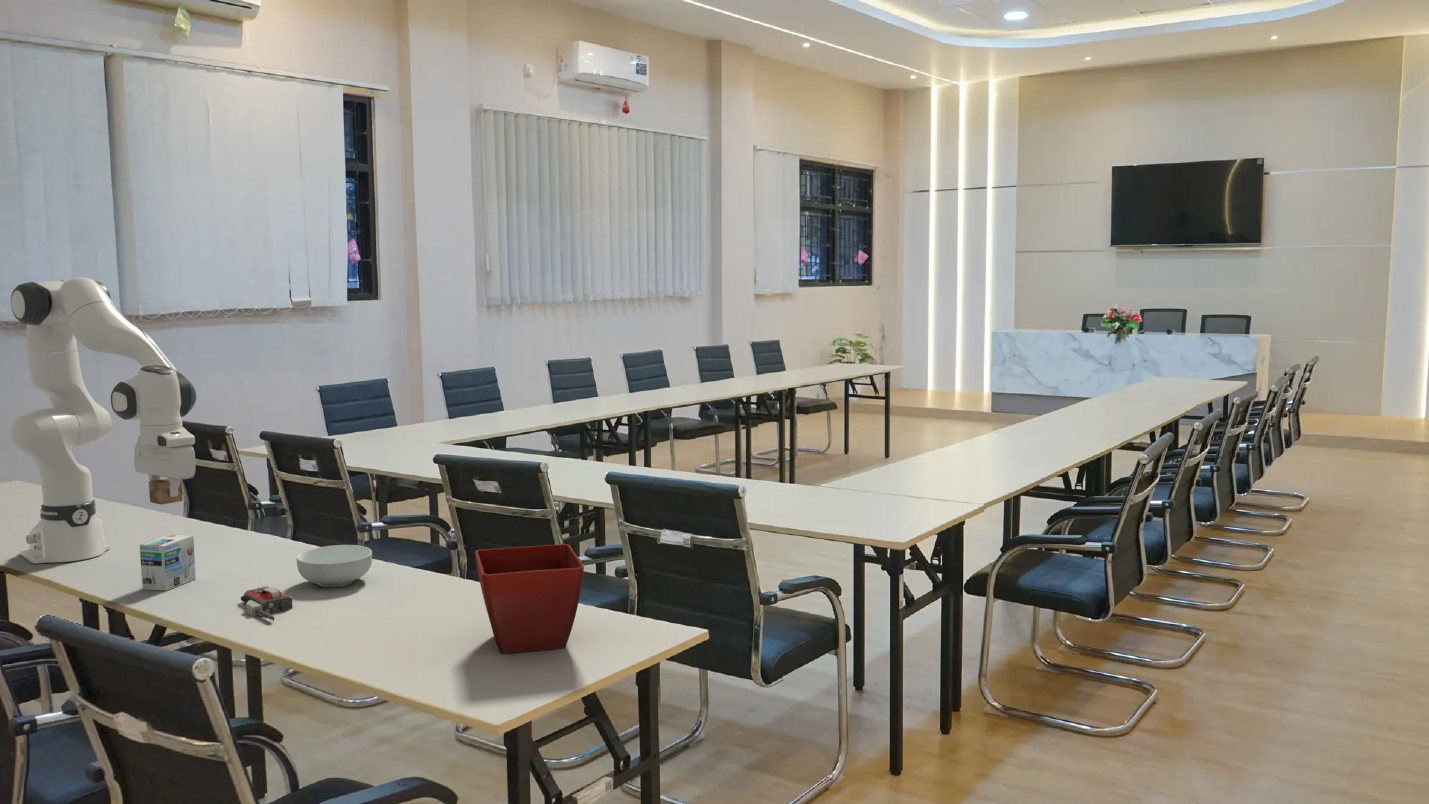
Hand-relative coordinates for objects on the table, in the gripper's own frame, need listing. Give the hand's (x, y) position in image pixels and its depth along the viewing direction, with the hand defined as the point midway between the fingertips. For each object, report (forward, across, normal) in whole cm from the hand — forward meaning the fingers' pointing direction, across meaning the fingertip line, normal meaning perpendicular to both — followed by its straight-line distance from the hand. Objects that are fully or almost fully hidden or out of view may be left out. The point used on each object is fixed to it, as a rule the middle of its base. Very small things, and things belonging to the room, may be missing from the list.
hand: (165, 494), depth 253 cm
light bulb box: (+22, 0, 0) cm, 22 cm away
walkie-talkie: (+22, +37, +1) cm, 43 cm away
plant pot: (+22, +99, +17) cm, 103 cm away
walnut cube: (+2, 0, 0) cm, 2 cm away
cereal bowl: (+22, +31, +22) cm, 44 cm away
